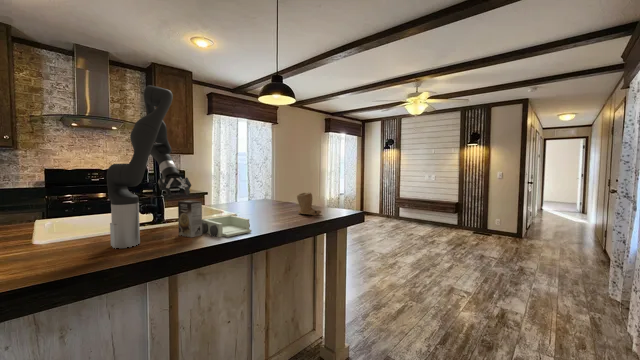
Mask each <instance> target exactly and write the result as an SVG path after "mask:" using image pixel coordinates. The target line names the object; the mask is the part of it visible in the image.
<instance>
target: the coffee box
mask: <svg viewBox="0 0 640 360" xmlns="http://www.w3.org/2000/svg"><path fill="white" fill-rule="evenodd" d="M177 212H178V213H177V217H178V218H177V219H178V221H177V222H178V223H177V224H178V236H181V235H182V237H186V236H187V238H195V237H199V236H202V235H203V233H202V219H203V201H200V200H192V199H188V200H178V201H177Z"/></svg>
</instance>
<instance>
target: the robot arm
mask: <svg viewBox="0 0 640 360" xmlns="http://www.w3.org/2000/svg"><path fill="white" fill-rule="evenodd" d="M173 96H174V95H173V92H172V91H171V90H169V89H167V88H163V87H160V86H155V85H150V84H149V85H147V86H146V87H145V89H144V90H143V100H144V105H145V110H146V112H147V114H146V115H144V116H142V117H141V118H140V119H138V120H137V121H136V122H135V123H134V125H133V126H132V127H133V128H132V130H131V132H130V136H129V138H130V143H131V146H132V148H133V155H132V156H131V160H130V162H128V163H112V164H111V165H110V166H109V167H108V169H107V171H106V185H107V194H108V198H109V200H110V209H111V211H110V214H111V222H110V223H109V228H110V229H109V233H110V235H109V237H110V247H111V246H112V247H111V248H112V249H114V248H115V249H114V250H117V249H116V248H119V249H127V247H129V248H132V246H134V247H136V245H137V246H139V245H140V244H141V237H140V236H141V234H140V233H141V231H140V201H139V200H140V199H139V196H138V195H137V194H135V193H132V192H131V191H129V189H128V188H129V187H137V186H138V185H139V184H141V182H142V181H143V179H144V176H145V171H146V169H147V164H148V160H149V158H150V156H152V157H153V159H154V160H155V161H156V162H157V164H158V167H159V170H160V173H161V175H162V178H161V177H160V178H159V179H158V182H157V184H158V186H159V191H161V192H162V191H165V193H166V196H168V197H172V191H171V189H170V188H175V187H176V188H180V189H183V190H184V192H185V194H186V196H189V195H190V193H191V191H190V189H191V187H192V183H191V182H190V180H189V177H185V178H182V177H181V174H180V172H179V170H178V168H177V165H176V164H175V162H174V160H173V158H172V155H170V154H172V146H171V145H170V142H169V140H168V129H167V125H166V123H165V121H164V118H165V117H166V115H167V113H168V112H169V109H170V107H171V105H172V102H173V98H174V97H173ZM165 184H166V186H165ZM138 244H139V245H138Z"/></svg>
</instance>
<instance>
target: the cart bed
mask: <svg viewBox="0 0 640 360" xmlns="http://www.w3.org/2000/svg"><path fill="white" fill-rule="evenodd" d="M250 223H251V222H250V218H244V217H241V216H237V215H232V214H231V215H224V216H223V215H222V216H216V217H211V218H202V234H209V235H211V236H212V237H218V238H223V237H227V238H229V237H234V236H238V235H243V234H247V233H248V234H249V233H251V232H252V229H251V228H250V227H251V224H250Z"/></svg>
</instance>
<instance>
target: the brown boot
mask: <svg viewBox="0 0 640 360" xmlns="http://www.w3.org/2000/svg"><path fill="white" fill-rule="evenodd" d="M296 199H297V203H298V206H299V208H300V209H299V210H298V211H297V214H303V215H306V216H318V215H320V214H321V213H322V210H318V209H314V208H313V194H312V192H309V191H308V192H302V193H298V194H296Z"/></svg>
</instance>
